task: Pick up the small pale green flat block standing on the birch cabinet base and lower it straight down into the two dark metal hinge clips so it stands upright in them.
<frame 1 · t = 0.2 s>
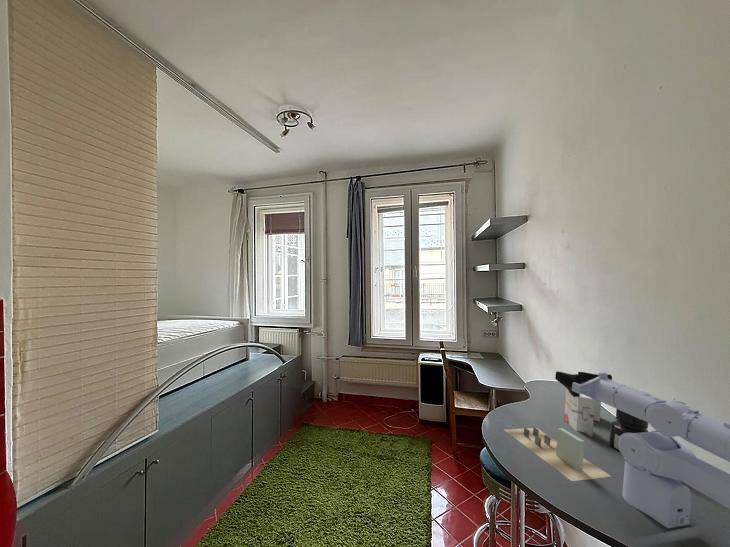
hand: (567, 375, 80), 21 cm above the table, tool horizontal, fingers open, 7 cm apart
hinge clips: (536, 436, 84), on the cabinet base, point 1 cm above the table
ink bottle: (629, 453, 83), on the table
ink cartridge box: (577, 429, 95), on the table
small box: (584, 415, 106), on the table
pale green flat block: (568, 462, 74), point 1 cm above the table, touching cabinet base
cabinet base: (551, 454, 79), on the table
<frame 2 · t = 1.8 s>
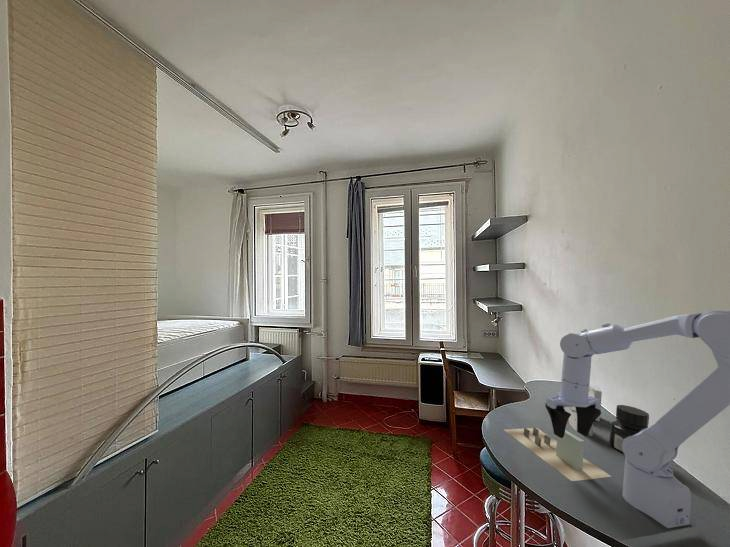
hand: (570, 435, 74), 8 cm above the table, tool pointing down, fingers open, 7 cm apart
nothing on the table moved.
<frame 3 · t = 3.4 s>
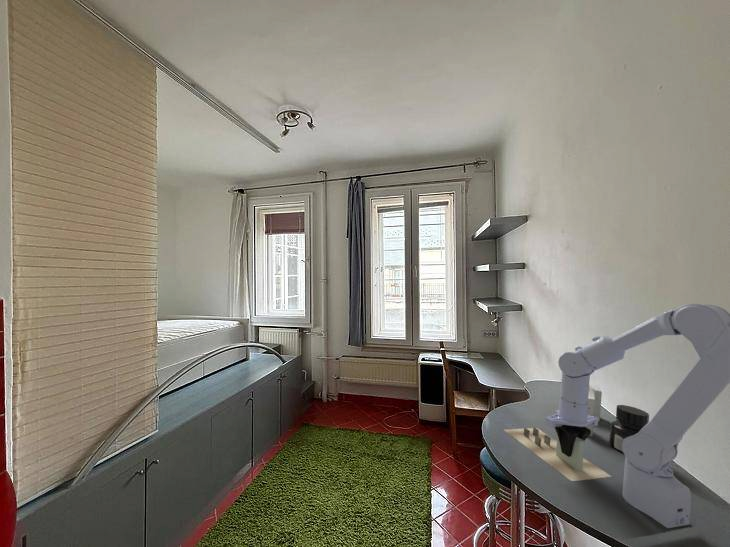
hand: (569, 454, 74), 3 cm above the table, tool pointing down, fingers closed on pale green flat block, 1 cm apart
pale green flat block: (568, 462, 74), point 1 cm above the table, touching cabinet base, gripper
everything else where it was.
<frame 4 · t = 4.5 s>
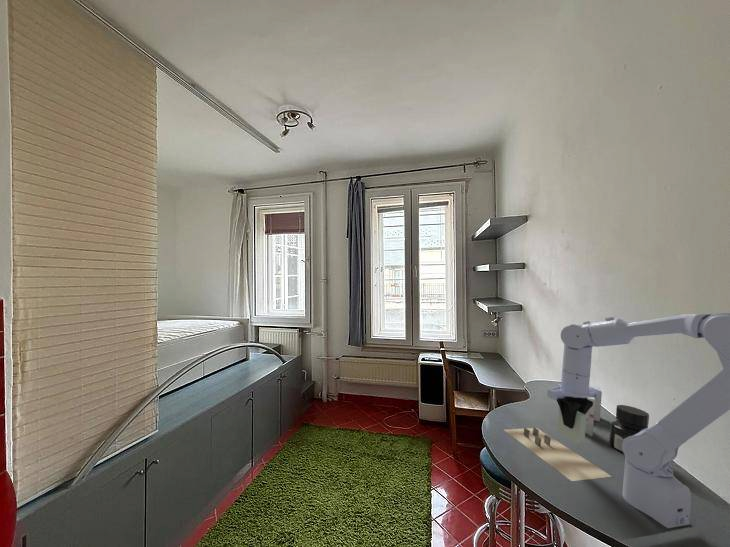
hand: (571, 426, 74), 10 cm above the table, tool pointing down, fingers closed on pale green flat block
pale green flat block: (570, 437, 74), point 7 cm above the table, touching gripper
everything else where it was.
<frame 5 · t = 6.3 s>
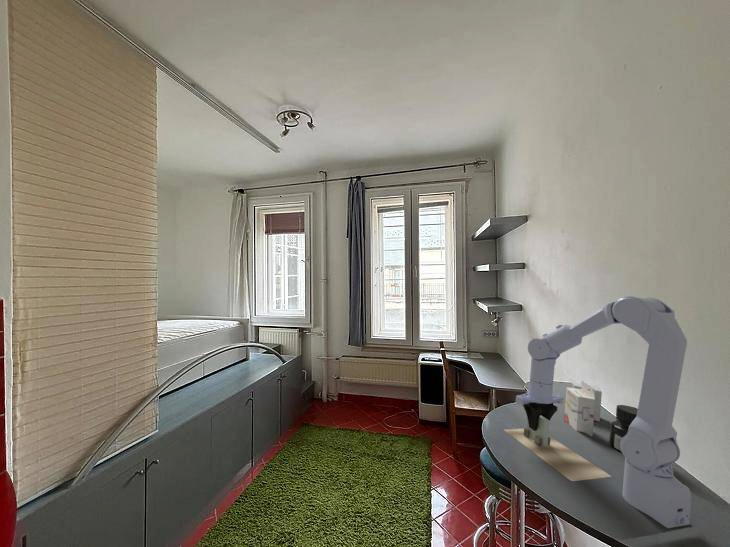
hand: (537, 428, 84), 4 cm above the table, tool pointing down, fingers open, 3 cm apart
pale green flat block: (536, 439, 84), point 1 cm above the table, touching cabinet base
everything else where it was.
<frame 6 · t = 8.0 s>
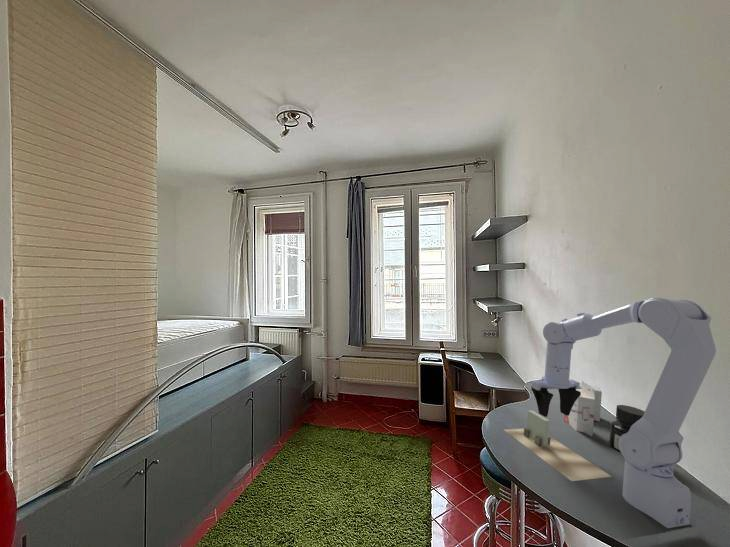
hand: (553, 414, 82), 9 cm above the table, tool pointing down, fingers open, 7 cm apart
nothing on the table moved.
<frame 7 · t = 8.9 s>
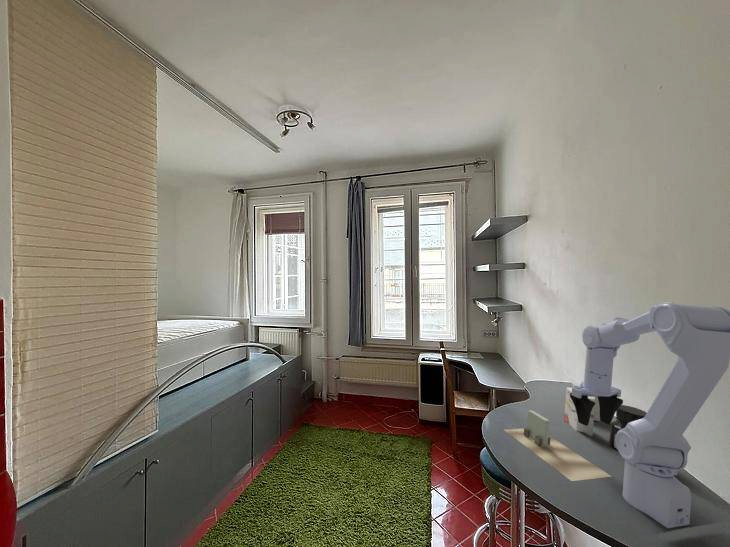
hand: (594, 423, 78), 9 cm above the table, tool pointing down, fingers open, 7 cm apart
nothing on the table moved.
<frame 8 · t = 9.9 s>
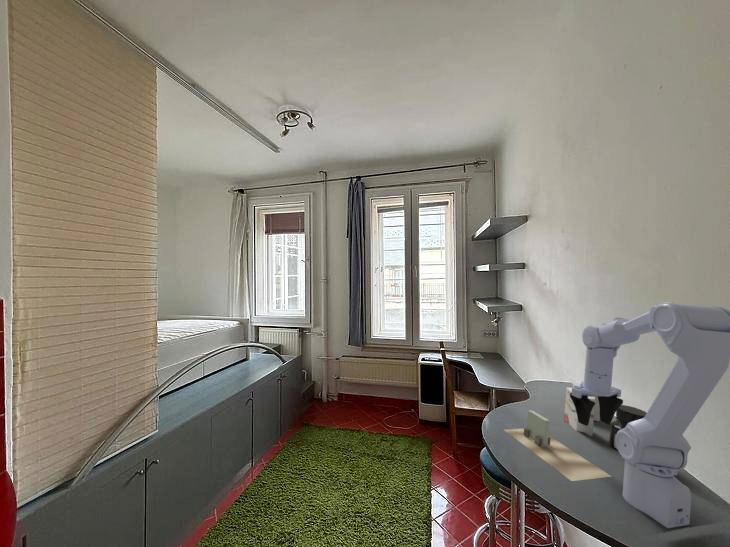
hand: (594, 423, 78), 9 cm above the table, tool pointing down, fingers open, 7 cm apart
nothing on the table moved.
at the end: pale green flat block 0.0 cm from the target spot on the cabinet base, point 1.0 cm above the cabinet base's base; pale green flat block tilted 0°; the gripper is holding nothing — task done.
